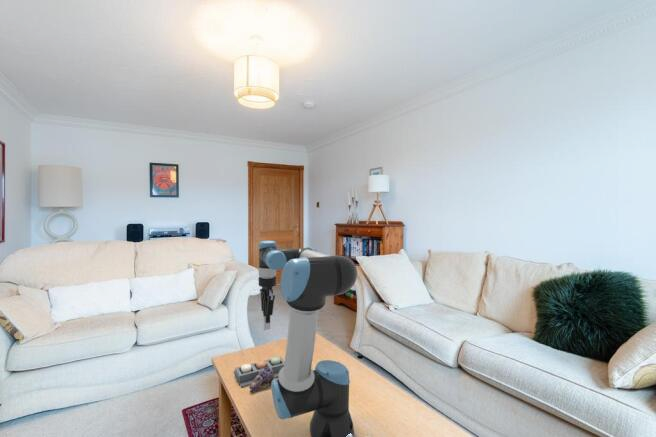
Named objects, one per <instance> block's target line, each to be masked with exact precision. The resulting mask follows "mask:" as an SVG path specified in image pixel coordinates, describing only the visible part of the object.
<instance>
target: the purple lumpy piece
mask: <svg viewBox="0 0 656 437" xmlns="http://www.w3.org/2000/svg"><path fill="white" fill-rule="evenodd" d="M274 379H275V378H274V371H273V370H272V368H271V367H266V368H263V369H261V370H260V371H259V374H258V375H257V376H256V377H255V379H254V381H253V382H252V384H251V385H250V386H249V389H250V390H251V391H253V392H254V393H255V391H261V390H262V389H265V388H266V387H268V386H271V382H272V380H274ZM264 384H265V385H264Z"/></svg>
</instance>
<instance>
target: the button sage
mask: <svg viewBox="0 0 656 437" xmlns="http://www.w3.org/2000/svg"><path fill="white" fill-rule="evenodd" d="M279 357H280V356H273V357H272V358H270V359H271V365H272V366H275V365H278V364H280V358H279Z"/></svg>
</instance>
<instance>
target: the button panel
mask: <svg viewBox="0 0 656 437" xmlns="http://www.w3.org/2000/svg"><path fill="white" fill-rule="evenodd" d="M278 357H279V358H280V364H278V365H275V366H272V365H271V358H268V359H266V360H264V361H266V367H271V368H272V370H273V371H274V379H276V378H277V379H278V375H279V372H280V370H281V369H282V368H283V367H284V364H285V359H284V358H282V356H278ZM256 363H257V362H253V363H249V364H250V365H251V372H248V373H244V374H242V373H241V366H238V367H235V368H234V370H233V374H234V376H235V378H236V381H237V382H238V385H239V387H240V388H241V389H242V388H246V387H250V385H251V384H252V382H253V381H254V379H255V377H256V376H257V375H258V374H259V371H260V370H261V369H259V370H257V369H256Z"/></svg>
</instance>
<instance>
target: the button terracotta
mask: <svg viewBox="0 0 656 437" xmlns="http://www.w3.org/2000/svg"><path fill="white" fill-rule="evenodd" d="M255 363H256V369H257V370H259V369H263V368H266V361H265V360H261V359H260V360H257V361H256V362H255Z"/></svg>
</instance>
